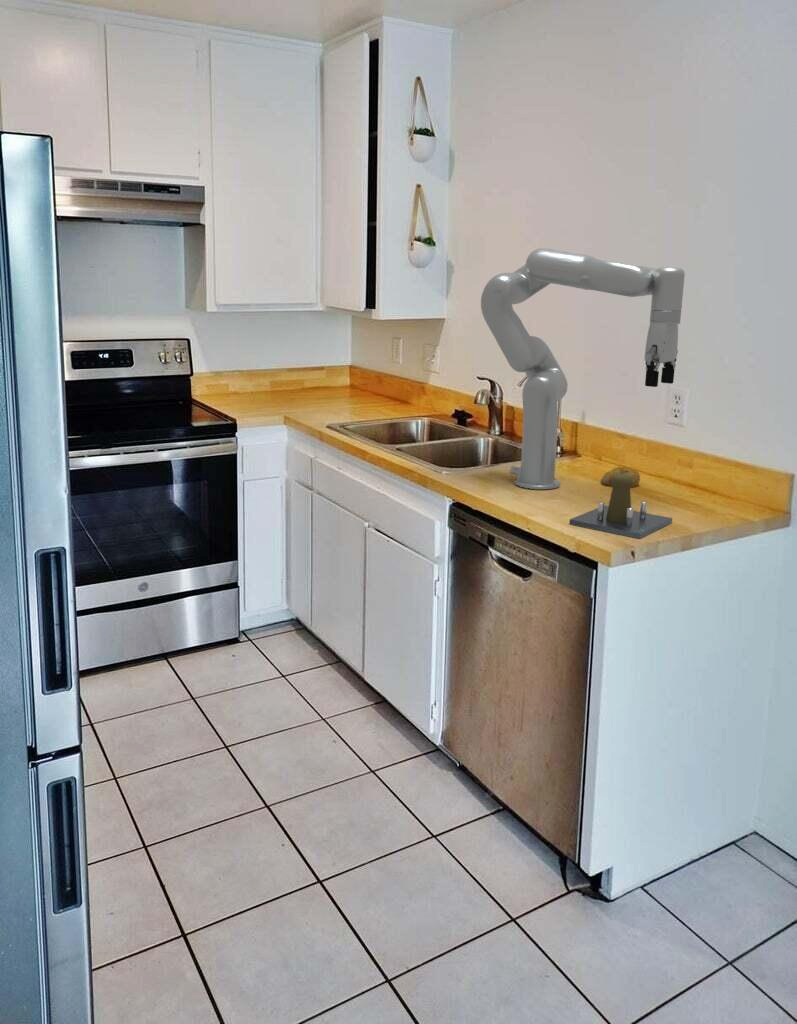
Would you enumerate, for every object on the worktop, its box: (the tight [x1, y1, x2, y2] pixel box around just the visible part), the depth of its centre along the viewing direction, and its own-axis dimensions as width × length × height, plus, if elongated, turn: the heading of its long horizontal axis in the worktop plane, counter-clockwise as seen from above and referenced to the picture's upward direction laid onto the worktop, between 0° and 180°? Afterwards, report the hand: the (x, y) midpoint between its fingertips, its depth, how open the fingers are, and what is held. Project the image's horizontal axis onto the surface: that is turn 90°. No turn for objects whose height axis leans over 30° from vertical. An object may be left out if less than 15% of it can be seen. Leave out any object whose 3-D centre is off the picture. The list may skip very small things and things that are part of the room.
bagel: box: [600, 466, 641, 488], centre depth 259 cm, size 10×11×5 cm
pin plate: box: [569, 501, 673, 540], centre depth 219 cm, size 18×18×5 cm
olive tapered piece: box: [606, 474, 633, 523], centre depth 217 cm, size 6×6×11 cm
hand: (659, 384), depth 237 cm, fingers open, 9 cm apart
